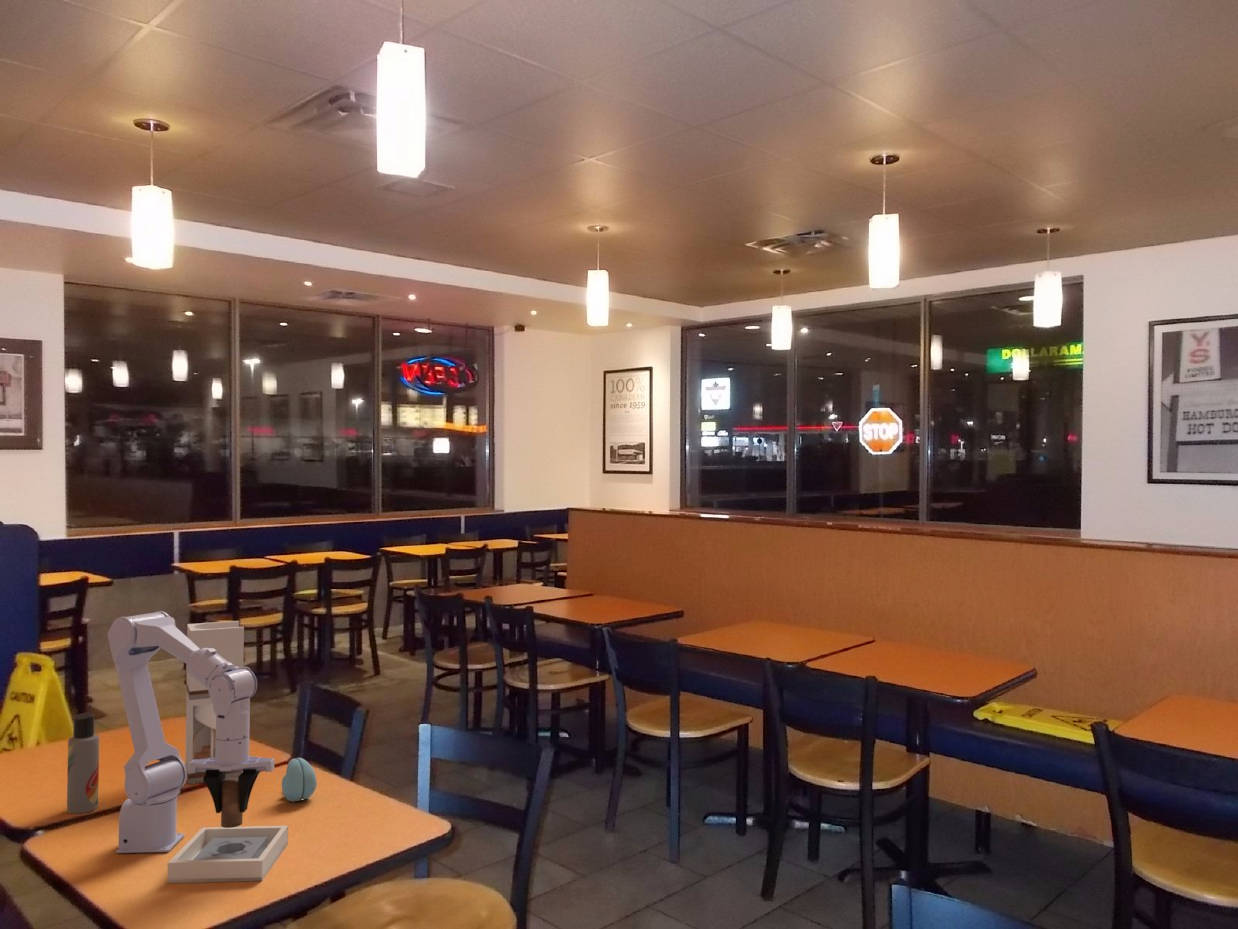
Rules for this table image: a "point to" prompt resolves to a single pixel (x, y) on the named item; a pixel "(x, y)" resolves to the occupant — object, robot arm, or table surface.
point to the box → (228, 854)
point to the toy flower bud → (299, 780)
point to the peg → (230, 803)
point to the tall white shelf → (198, 702)
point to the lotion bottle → (83, 766)
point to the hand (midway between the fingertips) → (231, 811)
